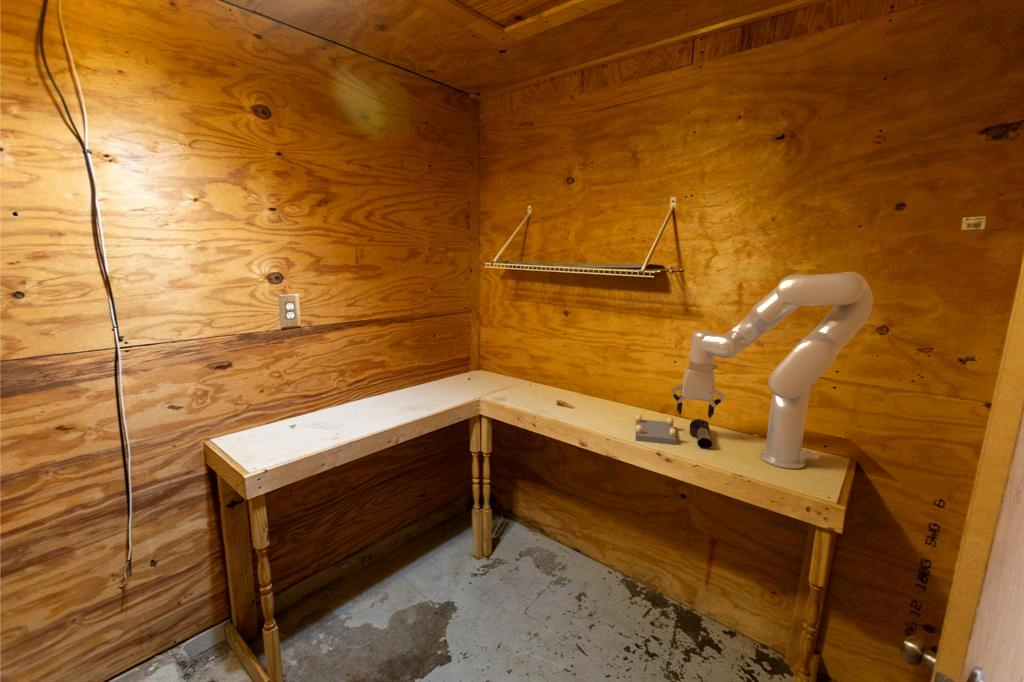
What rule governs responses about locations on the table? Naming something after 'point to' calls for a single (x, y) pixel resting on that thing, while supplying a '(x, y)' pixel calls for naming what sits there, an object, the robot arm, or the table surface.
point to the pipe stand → (655, 431)
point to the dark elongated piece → (701, 433)
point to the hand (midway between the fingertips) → (694, 414)
